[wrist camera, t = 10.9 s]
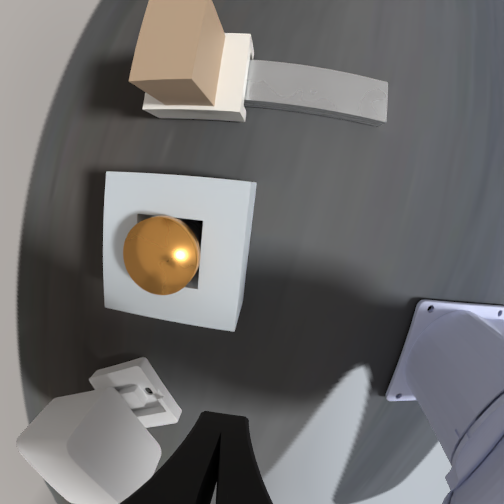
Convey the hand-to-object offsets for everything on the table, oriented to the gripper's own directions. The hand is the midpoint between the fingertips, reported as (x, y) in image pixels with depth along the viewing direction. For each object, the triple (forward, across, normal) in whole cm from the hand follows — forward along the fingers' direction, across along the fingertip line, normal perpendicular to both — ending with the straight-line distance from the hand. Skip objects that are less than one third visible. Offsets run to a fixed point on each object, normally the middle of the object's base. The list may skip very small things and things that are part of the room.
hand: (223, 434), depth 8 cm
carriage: (+10, +4, -13) cm, 17 cm away
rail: (+10, 0, -13) cm, 17 cm away
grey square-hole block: (+10, +4, -4) cm, 12 cm away
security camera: (+11, +8, +9) cm, 16 cm away
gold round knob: (+10, +4, -4) cm, 11 cm away
